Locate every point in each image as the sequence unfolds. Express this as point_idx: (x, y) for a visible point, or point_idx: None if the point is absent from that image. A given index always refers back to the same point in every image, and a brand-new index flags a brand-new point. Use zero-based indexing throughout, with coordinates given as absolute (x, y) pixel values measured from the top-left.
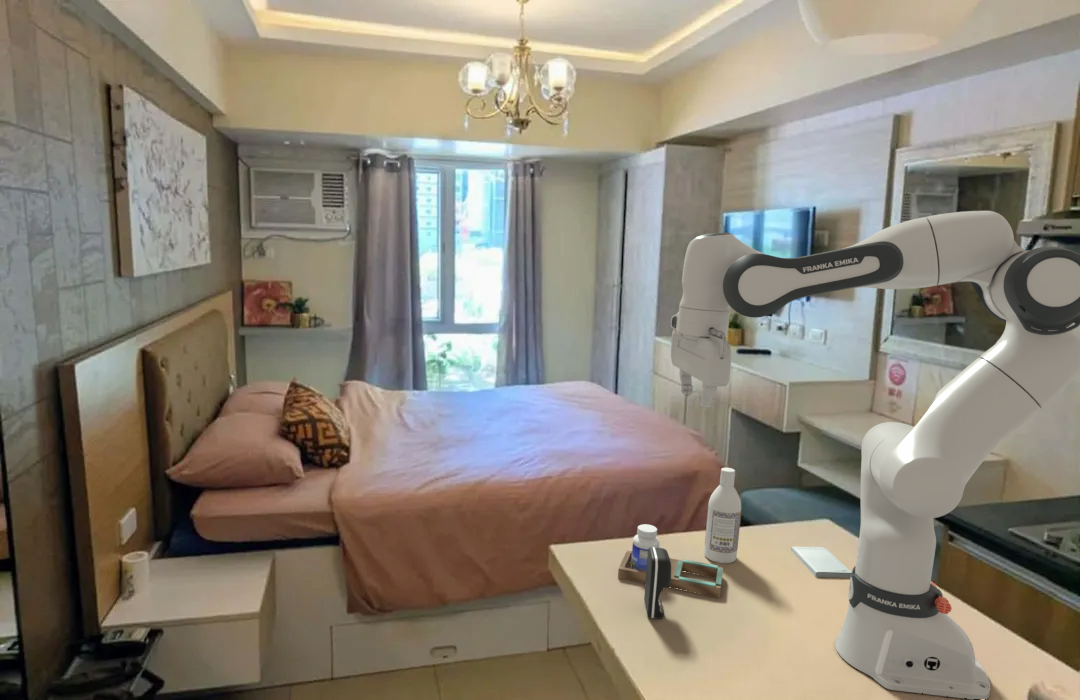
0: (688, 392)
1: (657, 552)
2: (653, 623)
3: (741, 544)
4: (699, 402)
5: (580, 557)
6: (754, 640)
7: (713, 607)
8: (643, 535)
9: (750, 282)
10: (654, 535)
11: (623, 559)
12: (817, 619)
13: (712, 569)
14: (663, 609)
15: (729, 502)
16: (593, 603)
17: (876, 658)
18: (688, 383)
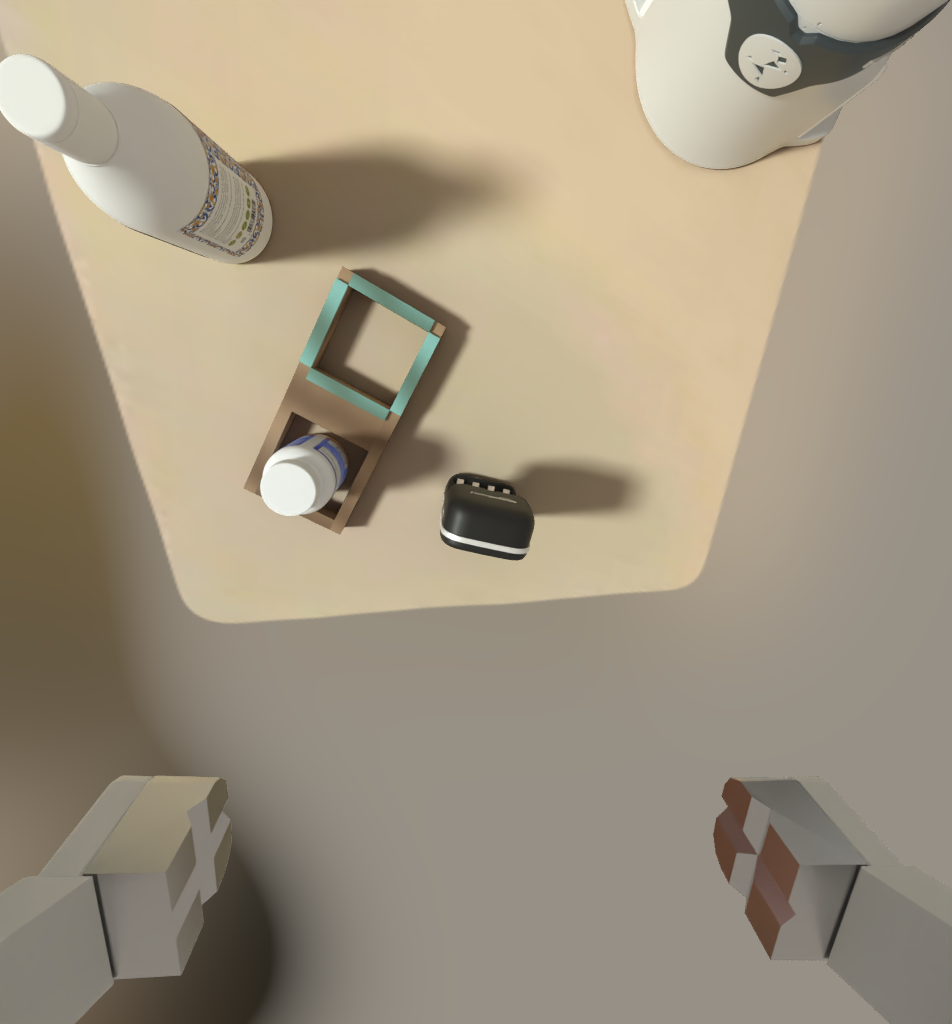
0: (210, 826)
1: (488, 539)
2: None
3: None
4: (742, 879)
5: (246, 581)
6: (613, 332)
7: (483, 362)
8: (314, 504)
9: None
10: (314, 474)
11: None
12: (565, 118)
13: (344, 298)
14: (494, 482)
15: (182, 165)
16: (443, 598)
17: (813, 124)
18: (77, 932)
